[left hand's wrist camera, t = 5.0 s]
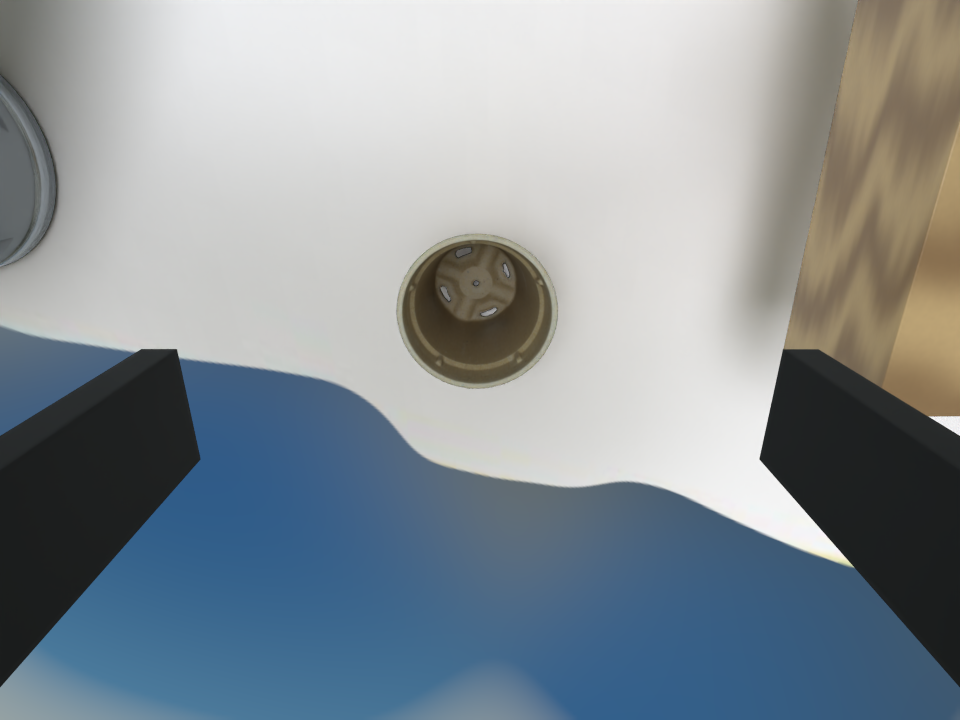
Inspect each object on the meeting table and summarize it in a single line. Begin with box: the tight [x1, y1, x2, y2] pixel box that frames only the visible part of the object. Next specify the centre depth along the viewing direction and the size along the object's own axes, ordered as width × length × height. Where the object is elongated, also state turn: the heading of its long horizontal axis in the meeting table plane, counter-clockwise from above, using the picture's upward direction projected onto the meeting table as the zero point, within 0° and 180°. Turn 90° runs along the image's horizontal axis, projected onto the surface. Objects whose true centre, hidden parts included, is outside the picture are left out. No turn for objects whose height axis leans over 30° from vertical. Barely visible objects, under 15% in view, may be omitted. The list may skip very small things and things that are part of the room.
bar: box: [784, 0, 960, 416], centre depth 24 cm, size 24×5×8 cm, turn 0°
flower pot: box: [397, 234, 558, 389], centre depth 36 cm, size 9×9×9 cm
